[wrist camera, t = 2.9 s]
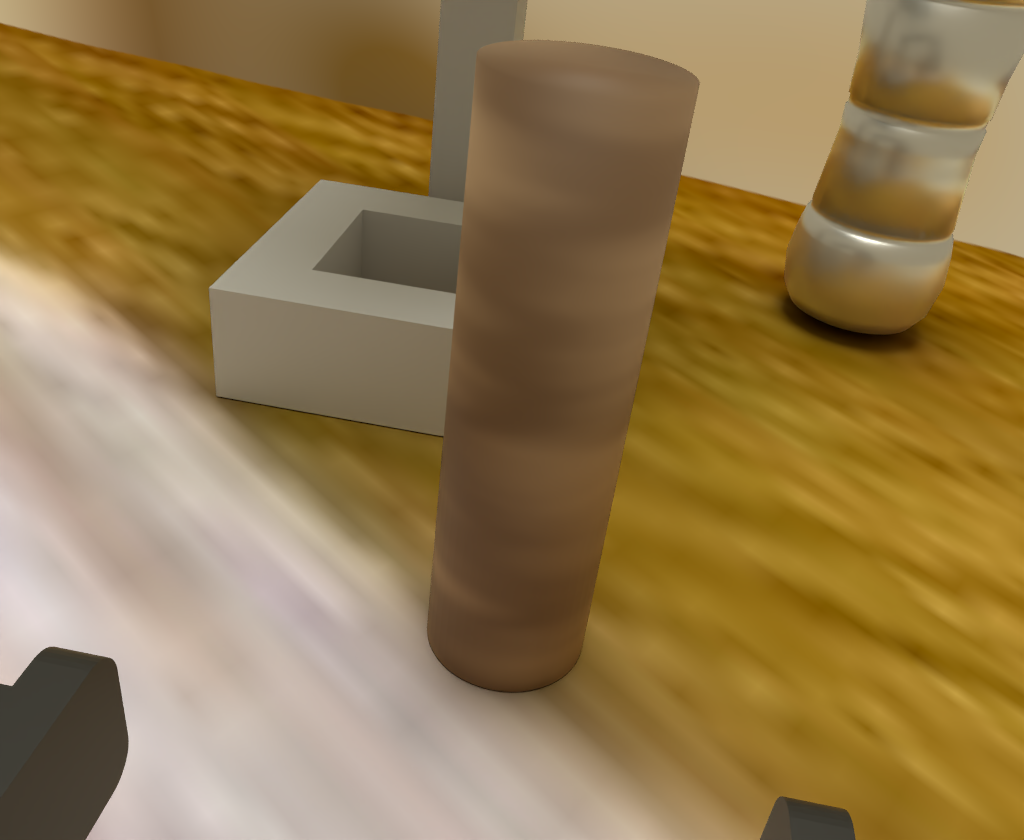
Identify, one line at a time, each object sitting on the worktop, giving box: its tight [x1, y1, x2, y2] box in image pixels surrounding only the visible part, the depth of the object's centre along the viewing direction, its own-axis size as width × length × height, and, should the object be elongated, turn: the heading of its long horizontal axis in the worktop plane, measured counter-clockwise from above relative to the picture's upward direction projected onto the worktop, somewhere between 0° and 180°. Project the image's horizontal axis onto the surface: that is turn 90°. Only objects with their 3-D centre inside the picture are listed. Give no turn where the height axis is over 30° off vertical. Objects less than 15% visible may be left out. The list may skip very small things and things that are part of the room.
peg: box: [427, 40, 699, 692], centre depth 21 cm, size 4×4×14 cm
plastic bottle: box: [784, 0, 1024, 335], centre depth 38 cm, size 6×7×20 cm
